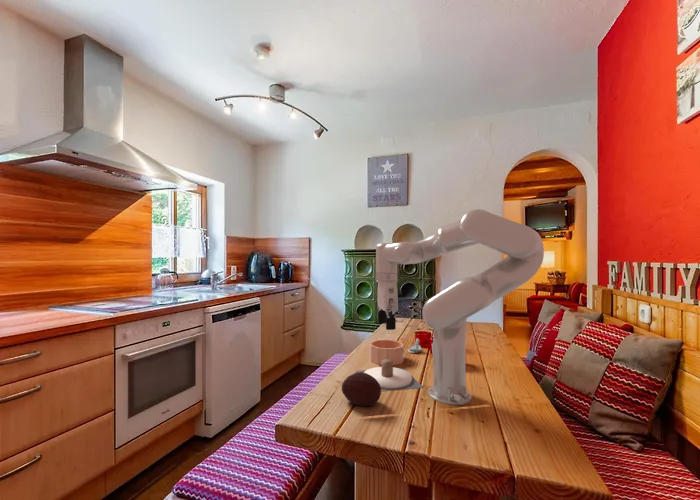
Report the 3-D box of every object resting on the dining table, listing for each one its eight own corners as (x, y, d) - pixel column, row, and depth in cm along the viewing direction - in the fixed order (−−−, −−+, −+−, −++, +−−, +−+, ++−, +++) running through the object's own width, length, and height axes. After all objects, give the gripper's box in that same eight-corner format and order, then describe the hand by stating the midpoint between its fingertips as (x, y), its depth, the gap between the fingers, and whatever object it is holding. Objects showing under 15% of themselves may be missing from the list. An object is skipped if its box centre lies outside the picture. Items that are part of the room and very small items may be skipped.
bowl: (408, 365, 124) (408, 347, 124) (374, 367, 121) (374, 349, 122) (396, 354, 138) (396, 338, 138) (366, 356, 135) (366, 340, 135)
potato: (377, 415, 84) (376, 381, 85) (336, 408, 89) (336, 375, 89) (384, 401, 93) (384, 370, 93) (347, 395, 97) (347, 365, 97)
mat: (424, 389, 101) (423, 387, 101) (367, 394, 98) (367, 392, 98) (403, 369, 120) (403, 367, 120) (355, 372, 116) (355, 370, 116)
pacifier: (407, 354, 140) (421, 354, 138) (406, 340, 140) (420, 340, 139) (408, 349, 147) (421, 349, 145) (407, 336, 147) (420, 336, 146)
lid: (419, 386, 102) (419, 367, 102) (369, 390, 99) (369, 371, 99) (401, 368, 119) (401, 352, 119) (358, 371, 116) (358, 354, 116)
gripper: (405, 279, 102) (405, 331, 102) (389, 276, 119) (389, 321, 119) (383, 279, 101) (383, 332, 100) (370, 276, 118) (370, 321, 117)
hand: (386, 326), depth 109 cm, fingers open, 9 cm apart
